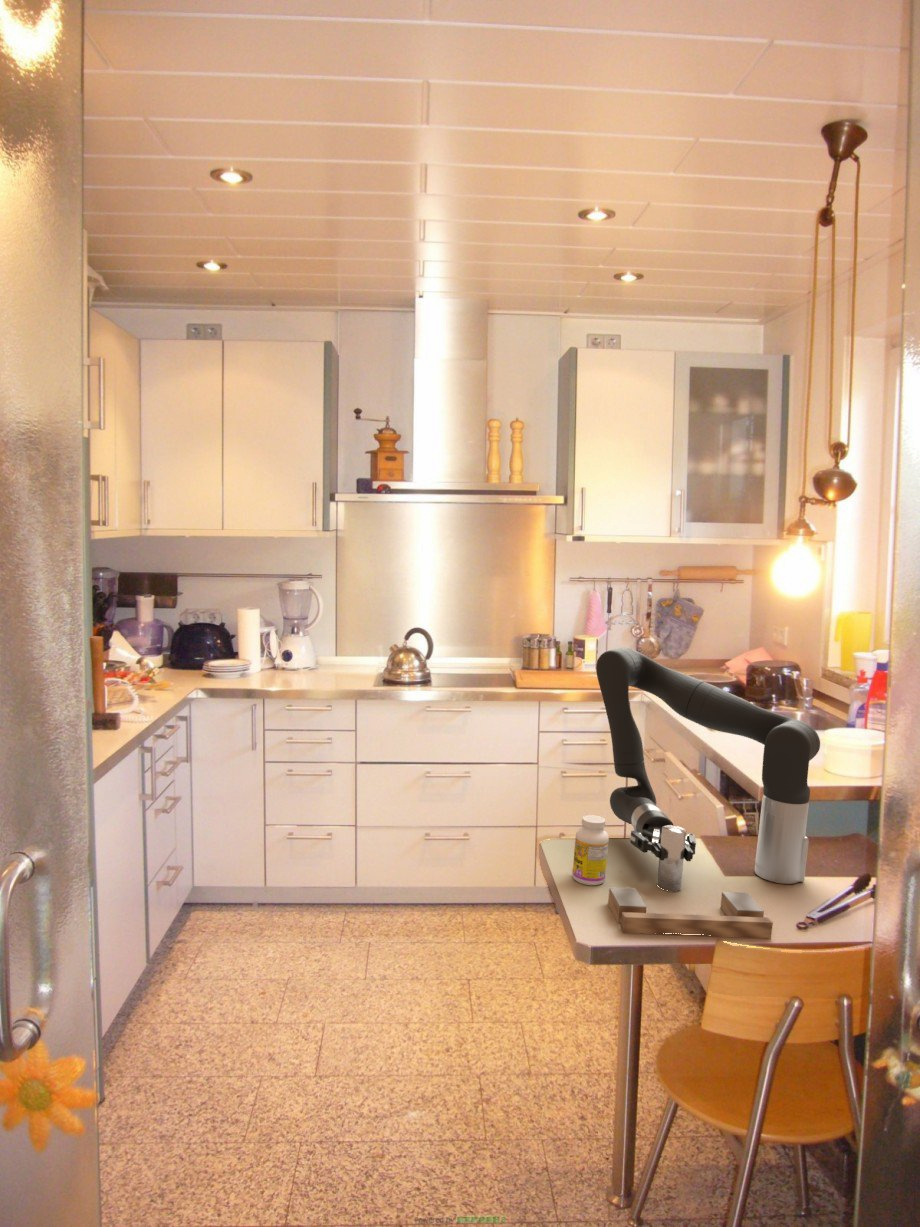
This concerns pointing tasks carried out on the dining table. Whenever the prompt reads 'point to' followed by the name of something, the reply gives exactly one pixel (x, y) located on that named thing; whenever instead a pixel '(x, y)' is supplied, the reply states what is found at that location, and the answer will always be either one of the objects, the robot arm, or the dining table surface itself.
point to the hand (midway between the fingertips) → (676, 856)
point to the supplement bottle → (591, 851)
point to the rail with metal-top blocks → (691, 917)
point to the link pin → (672, 858)
